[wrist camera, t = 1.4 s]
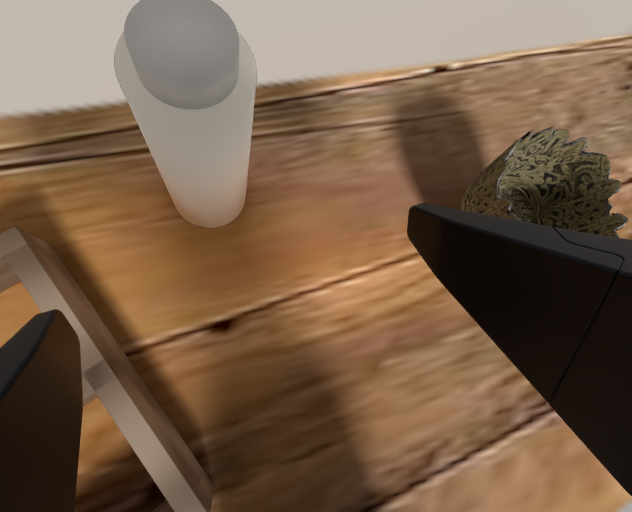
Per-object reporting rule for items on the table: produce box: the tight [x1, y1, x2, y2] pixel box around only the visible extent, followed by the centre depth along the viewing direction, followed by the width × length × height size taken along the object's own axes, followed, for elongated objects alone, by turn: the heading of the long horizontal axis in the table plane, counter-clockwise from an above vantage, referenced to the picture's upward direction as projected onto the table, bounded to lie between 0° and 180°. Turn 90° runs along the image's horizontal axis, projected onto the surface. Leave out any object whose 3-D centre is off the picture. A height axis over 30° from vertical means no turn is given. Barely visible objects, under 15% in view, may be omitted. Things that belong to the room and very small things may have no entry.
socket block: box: [0, 226, 214, 512], centre depth 16 cm, size 16×10×4 cm, turn 36°
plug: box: [114, 0, 257, 228], centre depth 17 cm, size 4×4×12 cm
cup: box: [459, 126, 628, 238], centre depth 22 cm, size 8×7×8 cm
